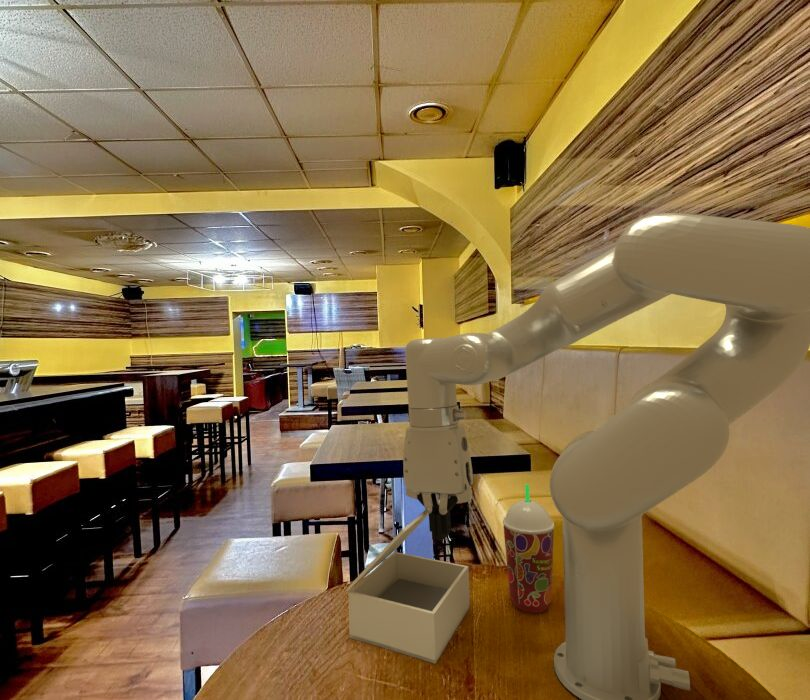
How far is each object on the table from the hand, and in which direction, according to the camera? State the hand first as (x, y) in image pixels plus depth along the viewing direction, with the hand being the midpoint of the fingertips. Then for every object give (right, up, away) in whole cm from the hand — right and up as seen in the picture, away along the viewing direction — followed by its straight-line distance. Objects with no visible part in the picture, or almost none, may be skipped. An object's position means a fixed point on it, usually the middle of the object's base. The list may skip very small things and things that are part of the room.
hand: (440, 536), depth 69 cm
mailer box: (-4, -14, +2) cm, 15 cm away
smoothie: (+16, -14, +6) cm, 22 cm away
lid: (-6, -2, +3) cm, 8 cm away
